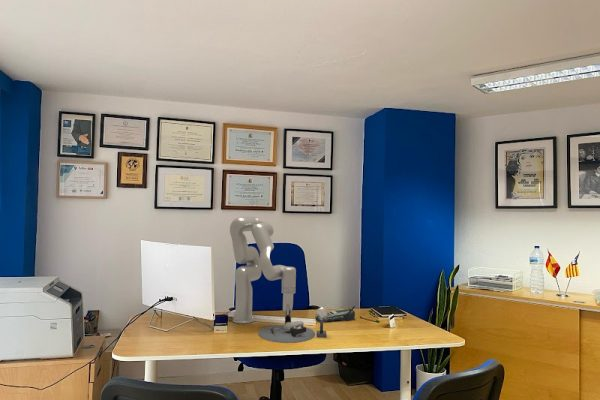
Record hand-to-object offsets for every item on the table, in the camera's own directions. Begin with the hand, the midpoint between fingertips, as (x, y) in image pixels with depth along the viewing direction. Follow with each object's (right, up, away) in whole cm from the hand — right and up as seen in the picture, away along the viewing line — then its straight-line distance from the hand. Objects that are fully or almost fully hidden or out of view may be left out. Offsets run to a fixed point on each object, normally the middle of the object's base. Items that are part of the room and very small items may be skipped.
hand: (287, 324), depth 218 cm
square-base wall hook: (+18, -4, -9) cm, 20 cm away
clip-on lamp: (0, -3, -7) cm, 8 cm away
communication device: (+27, -5, +23) cm, 36 cm away
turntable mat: (0, -3, -6) cm, 6 cm away
